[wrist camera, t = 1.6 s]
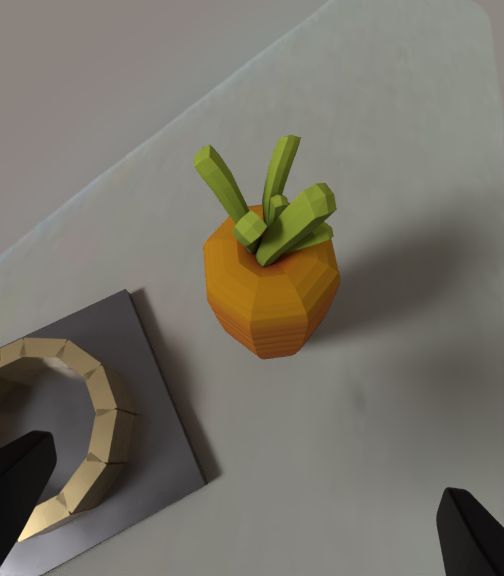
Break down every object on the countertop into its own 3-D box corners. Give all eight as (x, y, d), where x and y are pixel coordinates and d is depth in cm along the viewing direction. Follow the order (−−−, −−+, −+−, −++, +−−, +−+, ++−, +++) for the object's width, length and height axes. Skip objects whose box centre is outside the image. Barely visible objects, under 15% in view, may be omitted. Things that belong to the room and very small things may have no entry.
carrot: (216, 328, 24) (130, 146, 10) (288, 289, 24) (299, 69, 11) (257, 402, 22) (220, 306, 8) (333, 358, 22) (418, 200, 9)
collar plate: (207, 483, 20) (195, 488, 17) (-42, 621, 19) (-104, 652, 16) (130, 294, 25) (109, 271, 22) (-76, 390, 23) (-129, 380, 20)
